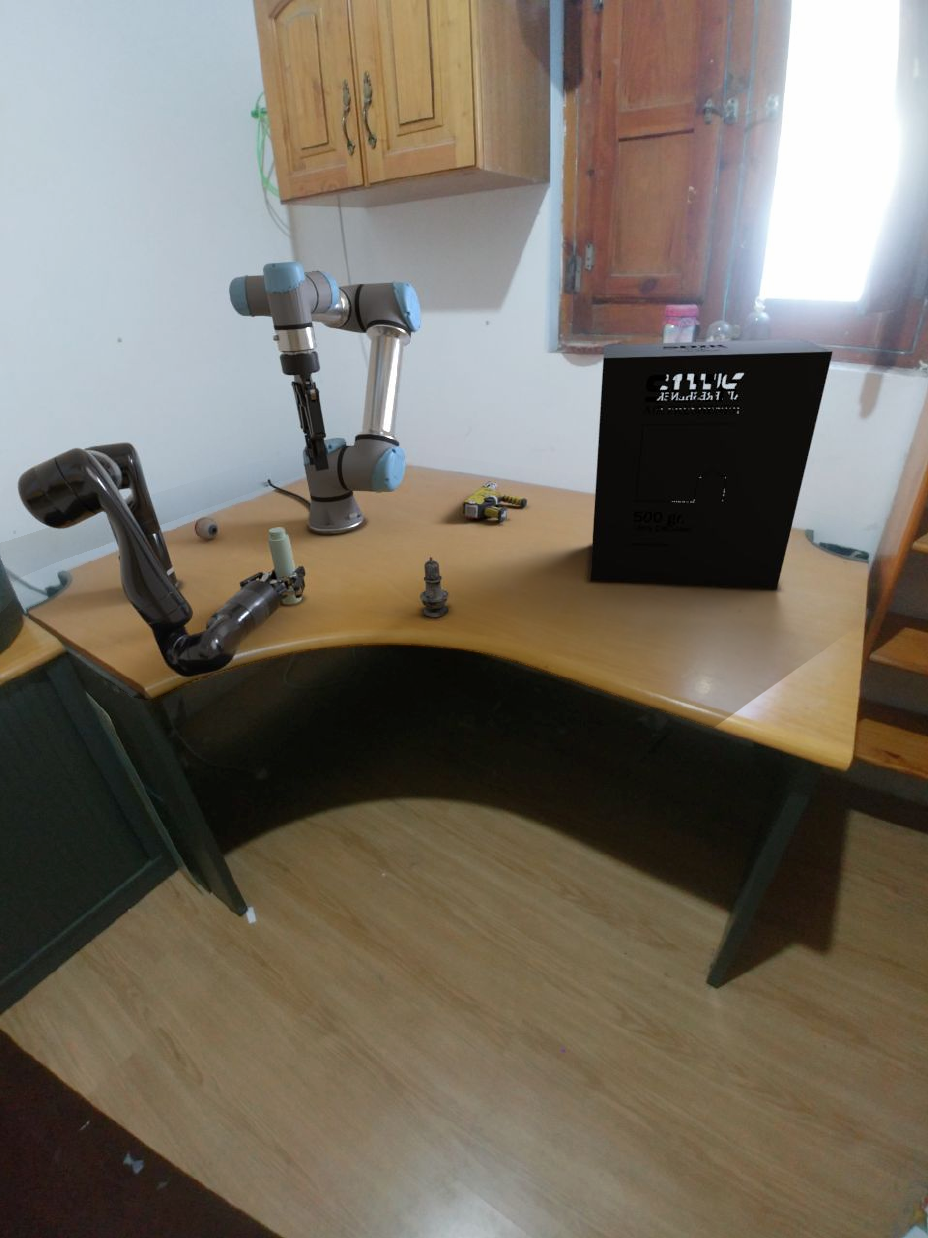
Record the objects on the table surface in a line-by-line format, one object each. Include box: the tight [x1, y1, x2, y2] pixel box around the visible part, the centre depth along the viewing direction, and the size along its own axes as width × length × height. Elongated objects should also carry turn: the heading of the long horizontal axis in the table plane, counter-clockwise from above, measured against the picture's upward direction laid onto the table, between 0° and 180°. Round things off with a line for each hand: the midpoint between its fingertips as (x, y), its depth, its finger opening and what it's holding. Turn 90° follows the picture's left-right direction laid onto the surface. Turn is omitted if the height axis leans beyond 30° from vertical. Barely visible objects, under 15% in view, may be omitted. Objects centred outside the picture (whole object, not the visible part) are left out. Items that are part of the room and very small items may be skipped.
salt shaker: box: [419, 556, 450, 618], centre depth 120 cm, size 6×6×12 cm
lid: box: [304, 444, 328, 458], centre depth 131 cm, size 5×5×2 cm
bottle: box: [267, 526, 302, 606], centre depth 127 cm, size 4×4×16 cm
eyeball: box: [194, 516, 220, 541], centre depth 163 cm, size 6×6×6 cm
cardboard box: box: [589, 338, 834, 590], centre depth 125 cm, size 38×20×45 cm, turn 78°
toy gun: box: [461, 480, 528, 523], centre depth 173 cm, size 5×24×15 cm
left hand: (292, 569), depth 130 cm, fingers closed on bottle, 4 cm apart
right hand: (319, 466), depth 132 cm, fingers closed on lid, 4 cm apart
